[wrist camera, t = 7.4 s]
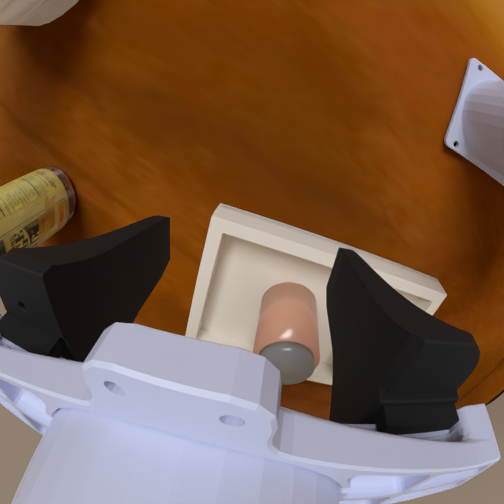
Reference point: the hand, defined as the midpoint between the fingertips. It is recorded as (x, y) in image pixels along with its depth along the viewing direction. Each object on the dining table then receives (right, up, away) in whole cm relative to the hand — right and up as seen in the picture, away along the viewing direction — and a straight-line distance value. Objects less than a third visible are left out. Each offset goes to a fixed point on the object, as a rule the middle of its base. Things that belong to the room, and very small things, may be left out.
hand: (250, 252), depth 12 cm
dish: (+5, -5, +14) cm, 15 cm away
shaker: (+3, -4, +13) cm, 14 cm away
